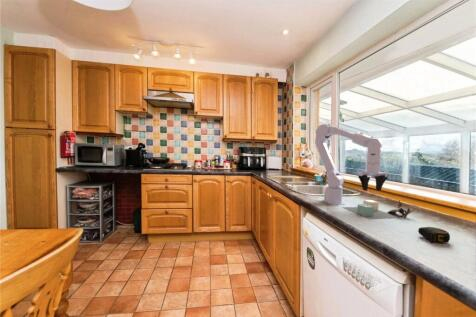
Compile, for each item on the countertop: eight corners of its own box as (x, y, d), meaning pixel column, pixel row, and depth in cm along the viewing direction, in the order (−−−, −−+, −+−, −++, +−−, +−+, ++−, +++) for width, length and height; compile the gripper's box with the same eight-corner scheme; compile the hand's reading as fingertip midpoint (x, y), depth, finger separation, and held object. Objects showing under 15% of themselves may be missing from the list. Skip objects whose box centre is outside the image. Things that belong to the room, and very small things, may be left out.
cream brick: (363, 207, 108) (363, 200, 108) (370, 207, 109) (371, 200, 109) (370, 210, 104) (370, 202, 104) (378, 210, 105) (378, 202, 105)
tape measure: (416, 235, 75) (417, 225, 75) (438, 237, 74) (439, 227, 74) (430, 244, 68) (431, 232, 68) (455, 246, 67) (456, 234, 67)
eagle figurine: (419, 216, 94) (401, 206, 103) (413, 202, 92) (396, 194, 102) (402, 225, 95) (386, 214, 104) (396, 212, 93) (380, 202, 102)
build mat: (341, 208, 108) (341, 207, 108) (369, 207, 111) (369, 206, 111) (369, 219, 91) (369, 218, 91) (401, 218, 93) (401, 218, 93)
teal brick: (357, 213, 99) (357, 204, 99) (365, 212, 100) (366, 204, 99) (364, 216, 94) (364, 207, 94) (373, 215, 95) (373, 207, 95)
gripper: (366, 163, 100) (364, 192, 101) (393, 164, 103) (391, 192, 103) (355, 162, 107) (354, 189, 108) (381, 163, 110) (379, 189, 110)
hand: (371, 190), depth 106 cm, fingers open, 7 cm apart
